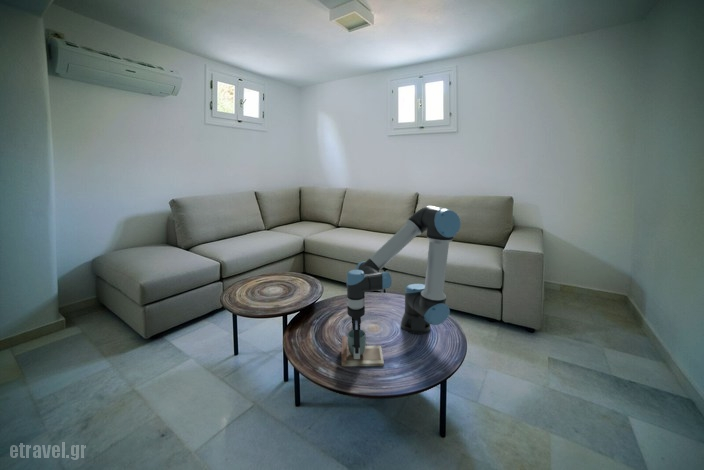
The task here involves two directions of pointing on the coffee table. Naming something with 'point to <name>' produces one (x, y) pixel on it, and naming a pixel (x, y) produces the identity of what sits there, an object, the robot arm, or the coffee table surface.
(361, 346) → the cup
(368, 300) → the coffee table surface
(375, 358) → the tray
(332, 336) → the coffee table surface
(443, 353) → the coffee table surface
